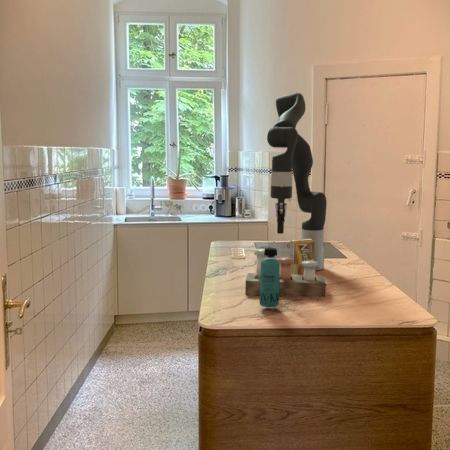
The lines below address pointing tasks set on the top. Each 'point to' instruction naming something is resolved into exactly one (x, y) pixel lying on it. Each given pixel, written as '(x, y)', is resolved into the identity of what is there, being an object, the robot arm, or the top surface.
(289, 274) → the brown mushroom peg
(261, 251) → the grey plug
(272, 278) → the beverage bottle
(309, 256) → the candy box
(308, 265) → the grey plug
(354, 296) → the top surface
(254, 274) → the walnut socket board
